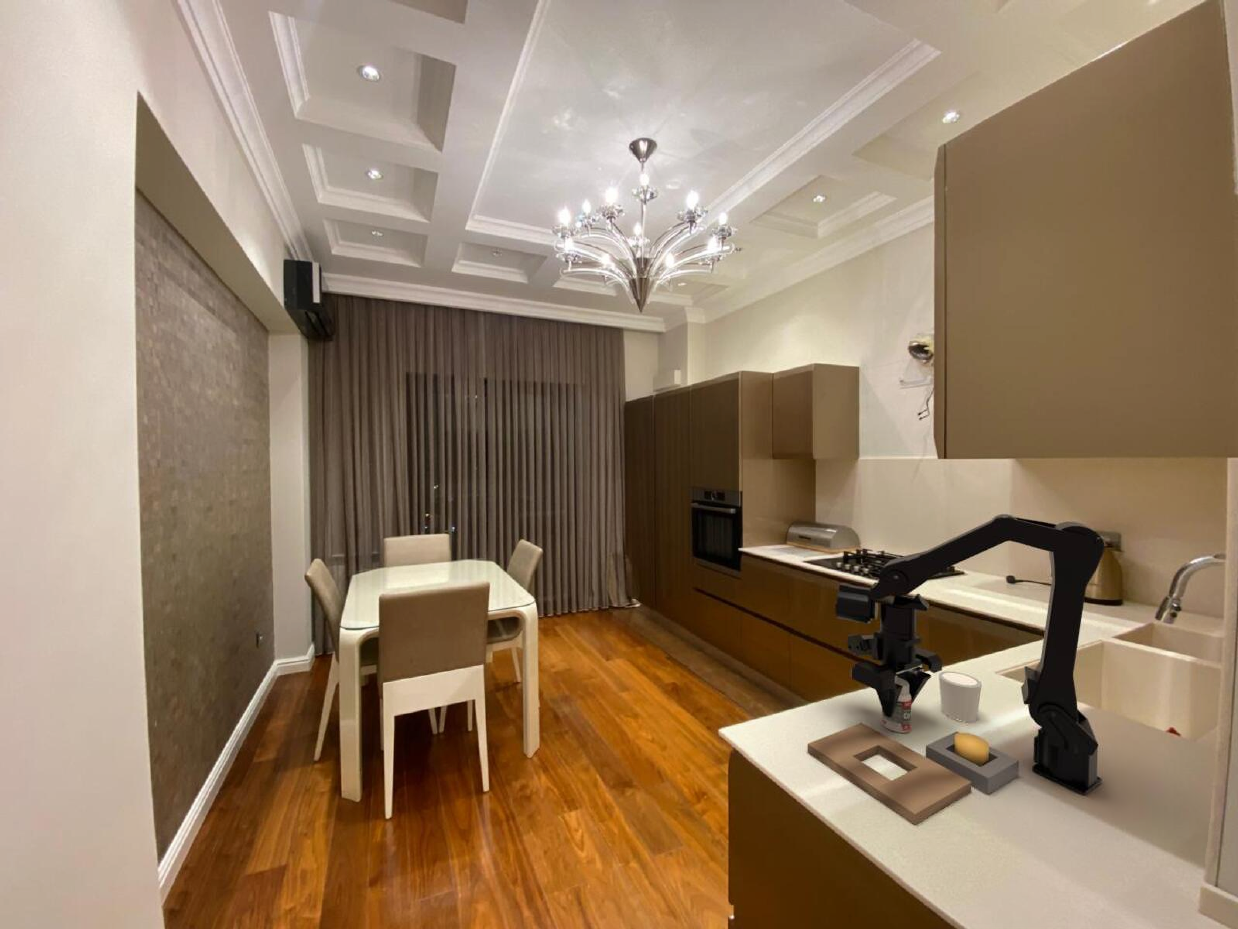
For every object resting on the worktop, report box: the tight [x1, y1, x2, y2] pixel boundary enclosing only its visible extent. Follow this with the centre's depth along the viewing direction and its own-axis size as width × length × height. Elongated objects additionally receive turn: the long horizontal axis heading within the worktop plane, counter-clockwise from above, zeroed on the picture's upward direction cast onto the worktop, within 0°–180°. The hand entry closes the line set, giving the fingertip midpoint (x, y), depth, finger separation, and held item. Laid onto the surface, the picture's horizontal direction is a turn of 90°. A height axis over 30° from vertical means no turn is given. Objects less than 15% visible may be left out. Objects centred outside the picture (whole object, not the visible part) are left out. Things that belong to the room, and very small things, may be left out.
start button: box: [955, 732, 990, 766], centre depth 78 cm, size 4×4×2 cm
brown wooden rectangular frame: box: [806, 722, 972, 826], centre depth 77 cm, size 18×14×2 cm
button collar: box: [925, 731, 1020, 796], centre depth 78 cm, size 9×9×2 cm
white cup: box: [938, 670, 983, 723], centre depth 94 cm, size 7×7×7 cm
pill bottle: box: [881, 676, 912, 734], centre depth 90 cm, size 5×5×8 cm
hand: (896, 712), depth 90 cm, fingers closed on pill bottle, 5 cm apart
